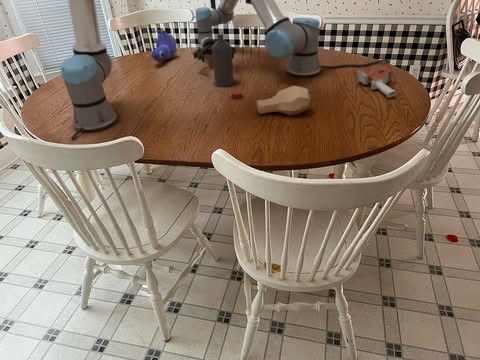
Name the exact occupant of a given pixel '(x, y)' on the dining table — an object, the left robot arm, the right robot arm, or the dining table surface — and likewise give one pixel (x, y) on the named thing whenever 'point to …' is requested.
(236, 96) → the cap
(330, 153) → the dining table surface
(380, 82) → the tape dispenser
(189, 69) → the dining table surface
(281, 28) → the right robot arm
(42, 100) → the dining table surface
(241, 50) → the dining table surface
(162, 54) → the toy
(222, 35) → the bottle
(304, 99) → the squash
